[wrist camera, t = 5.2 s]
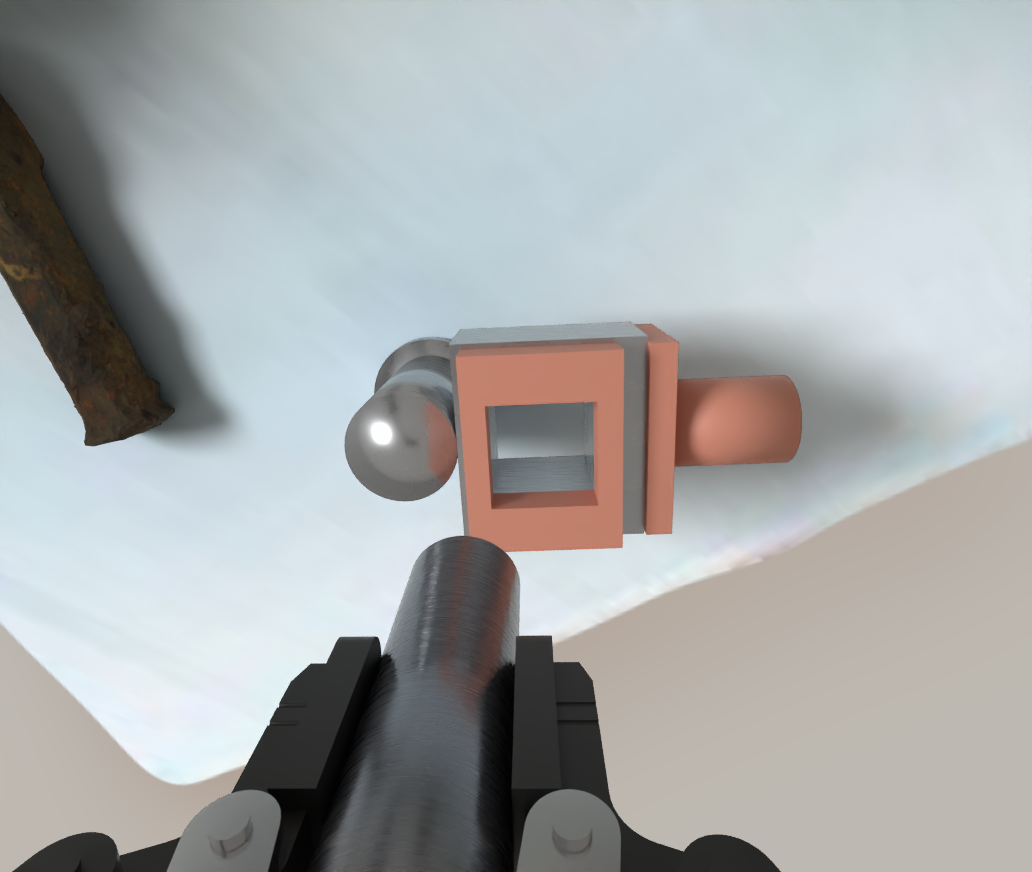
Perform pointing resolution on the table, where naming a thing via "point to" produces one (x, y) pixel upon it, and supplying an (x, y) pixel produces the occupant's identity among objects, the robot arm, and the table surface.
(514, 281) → the table surface
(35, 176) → the hand tool
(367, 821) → the steel pin
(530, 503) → the bracket
